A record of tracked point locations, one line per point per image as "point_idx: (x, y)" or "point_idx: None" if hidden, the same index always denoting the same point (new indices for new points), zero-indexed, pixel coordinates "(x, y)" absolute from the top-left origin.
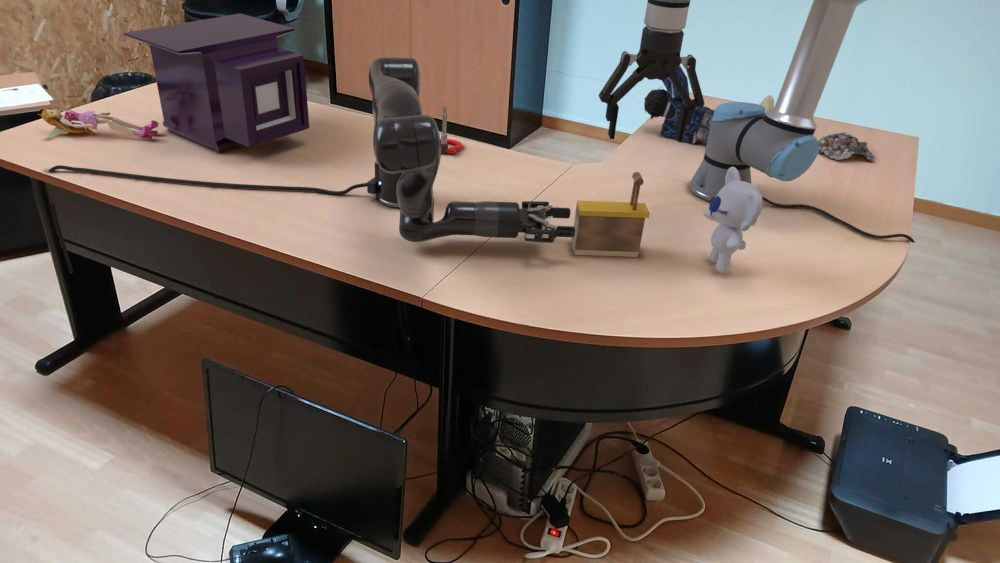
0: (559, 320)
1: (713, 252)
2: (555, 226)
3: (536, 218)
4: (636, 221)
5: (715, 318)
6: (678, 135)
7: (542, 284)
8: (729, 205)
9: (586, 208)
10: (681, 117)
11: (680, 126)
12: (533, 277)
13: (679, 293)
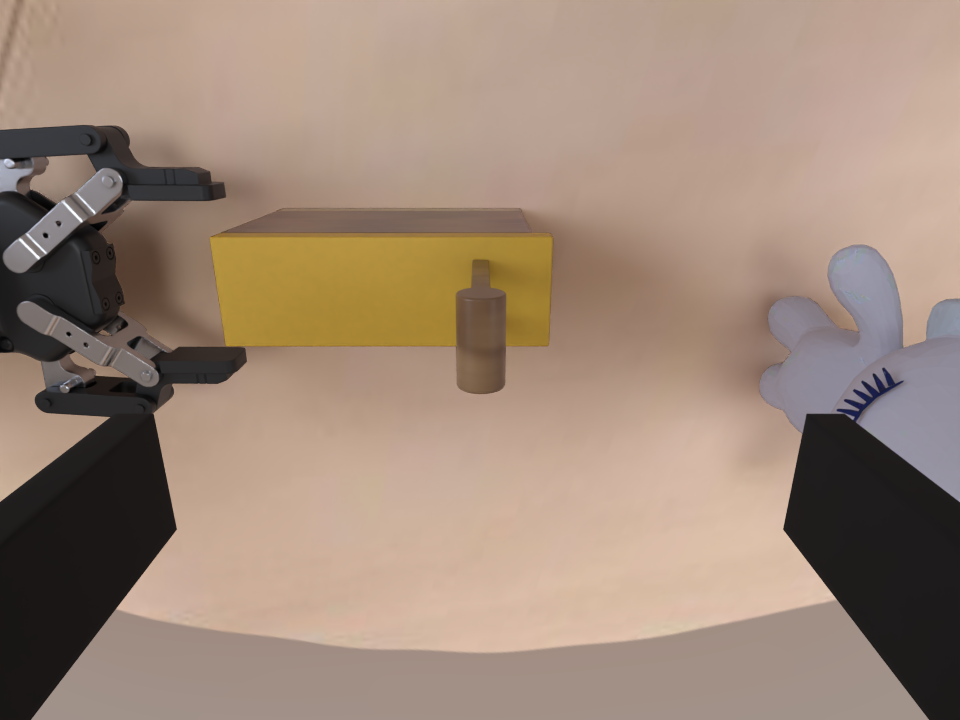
0: (246, 610)
1: (784, 338)
2: (149, 376)
3: (59, 330)
4: None
5: (650, 589)
6: (814, 538)
7: (193, 465)
8: None
9: (254, 322)
10: (953, 679)
11: (872, 615)
12: (163, 431)
13: (592, 490)
